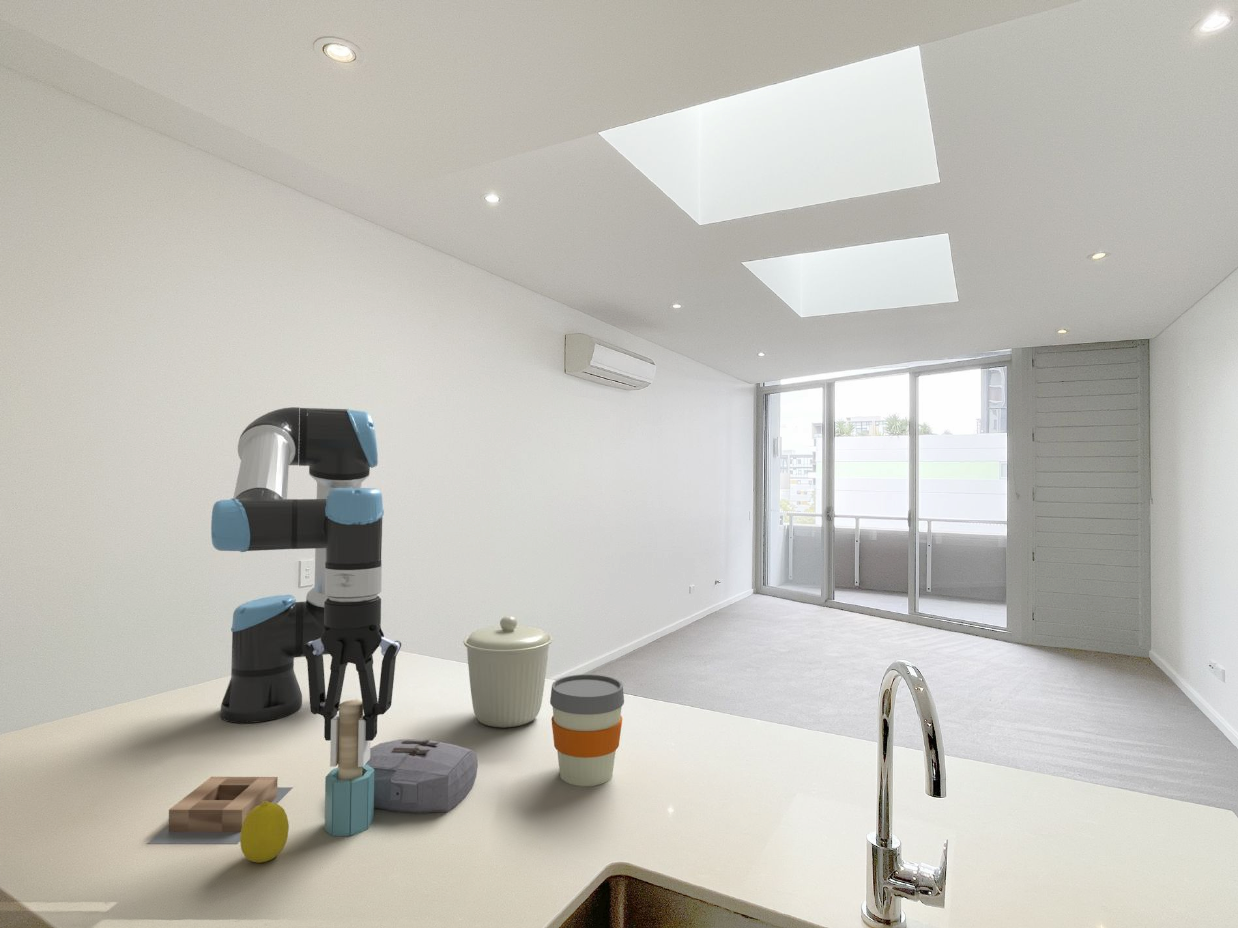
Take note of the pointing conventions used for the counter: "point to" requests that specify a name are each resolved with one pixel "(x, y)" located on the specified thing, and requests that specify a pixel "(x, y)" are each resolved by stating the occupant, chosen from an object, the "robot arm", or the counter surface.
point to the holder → (221, 804)
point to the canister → (507, 672)
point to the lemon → (264, 832)
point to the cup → (349, 803)
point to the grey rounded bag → (421, 775)
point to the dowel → (349, 739)
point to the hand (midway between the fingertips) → (350, 761)
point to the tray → (206, 837)
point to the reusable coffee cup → (586, 726)
